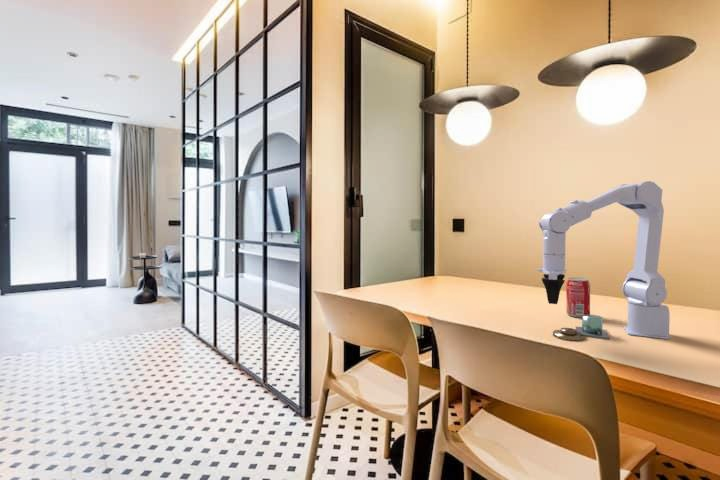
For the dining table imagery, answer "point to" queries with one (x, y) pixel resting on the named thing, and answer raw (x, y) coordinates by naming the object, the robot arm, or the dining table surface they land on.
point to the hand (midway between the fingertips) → (553, 300)
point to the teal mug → (592, 324)
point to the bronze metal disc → (568, 334)
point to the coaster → (601, 336)
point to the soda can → (577, 297)
